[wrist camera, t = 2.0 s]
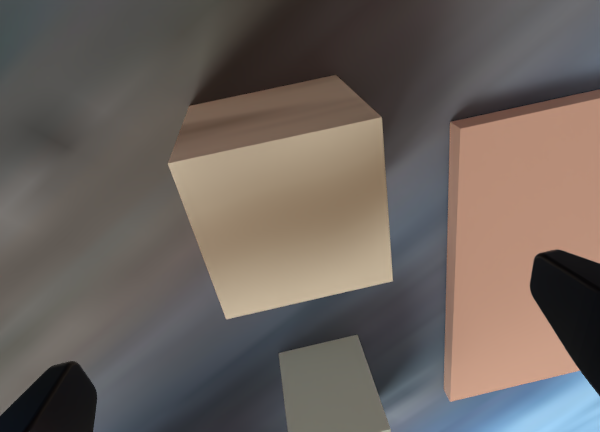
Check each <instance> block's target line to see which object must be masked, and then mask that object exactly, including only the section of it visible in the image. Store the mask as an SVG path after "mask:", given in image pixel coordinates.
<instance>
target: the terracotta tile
mask: <svg viewBox="0 0 600 432" xmlns="http://www.w3.org/2000/svg"><path fill="white" fill-rule="evenodd" d="M555 249H559V250H563V251H566V252H569V253H571V254H574V255H577V256H580V257H583V258H586V259H588V260H591V261H594V262H597V263H600V89H599V90H594V91H590V92H585V93H581V94H576V95H571V96H567V97H562V98H558V99H553V100H549V101H544V102H539V103H535V104H530V105H526V106H521V107H516V108H512V109H507V110H503V111H498V112H493V113H489V114H484V115H480V116H475V117H470V118H466V119H461V120H457V121H452V122H450V146H449V189H448V232H447V274H446V317H445V360H444V391H445V393H446V395H447V396H448V398H449V400H450V402H451V401H455V400H459V399H464V398H468V397H472V396H476V395H480V394H484V393H488V392H493V391H497V390H501V389H505V388H509V387H513V386H518V385H522V384H526V383H530V382H534V381H538V380H543V379H547V378H551V377H555V376H559V375H563V374H567V373H572V372H576V371H580V370H579V368H578V367H577V366H576V364H575V363H574V361H573V360H572V358H571V357H570V355H569V354H568V352H567V351H566V349H565V347H564V346H563V344H562V343H561V341H560V340H559V338H558V336H557V335H556V333H555V332H554V330H553V328H552V327H551V325H550V324H549V322H548V320H547V319H546V317H545V316H544V314H543V313H542V311H541V309H540V308H539V306H538V305H537V303H536V301H535V300H534V298H533V296H532V294H531V291H530V279H531V273H532V267H533V261H534V258H535V256H536V255H537V254H539V253H542V252H546V251H550V250H555Z"/></svg>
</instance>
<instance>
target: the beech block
mask: <svg viewBox="0 0 600 432" xmlns="http://www.w3.org/2000/svg"><path fill="white" fill-rule="evenodd" d="M168 165H169V168H170V170H171V173H172V176H173V178H174V181H175V184H176V186H177V189H178V192H179V194H180V197H181V200H182V202H183V205H184V208H185V210H186V213H187V216H188V218H189V221H190V224H191V226H192V229H193V232H194V235H195V237H196V240H197V243H198V245H199V248H200V251H201V253H202V256H203V259H204V261H205V264H206V267H207V269H208V272H209V275H210V277H211V280H212V283H213V285H214V288H215V291H216V293H217V296H218V299H219V301H220V304H221V307H222V309H223V312H224V315H225V317H226V319H230V318H235V317H239V316H243V315H248V314H252V313H256V312H261V311H265V310H269V309H274V308H278V307H283V306H287V305H291V304H296V303H300V302H304V301H309V300H313V299H318V298H322V297H326V296H331V295H335V294H339V293H344V292H348V291H352V290H357V289H361V288H366V287H370V286H374V285H379V284H383V283H387V282H392V281H393V276H392V261H391V246H390V231H389V217H388V202H387V187H386V172H385V157H384V143H383V128H382V117H381V116H380V115H379V114H378V113H377V112H376V111H374V110H373V109H372V108H371V107H370V106H369V105H368V104H367V103H366V102H365V101H364V100H363V99H362V98H360V97H359V96H358V95H357V94H356V93H355V92H354V91H353V90H352V89H351V88H350V87H349V86H347V85H346V84H345V83H344V82H343V81H342V80H341V79H340V78H339V77H338V76H337V75H333V76H329V77H324V78H319V79H314V80H310V81H305V82H300V83H296V84H291V85H286V86H281V87H277V88H272V89H267V90H262V91H258V92H253V93H248V94H244V95H239V96H234V97H229V98H225V99H220V100H215V101H211V102H206V103H201V104H196V105H192V106H189V108H188V110H187V113H186V116H185V119H184V121H183V124H182V127H181V129H180V132H179V135H178V137H177V140H176V143H175V146H174V148H173V151H172V154H171V156H170V159H169V162H168Z"/></svg>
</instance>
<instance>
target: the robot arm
mask: <svg viewBox="0 0 600 432" xmlns="http://www.w3.org/2000/svg"><path fill="white" fill-rule="evenodd" d="M530 291H531V294H532V296H533V298H534V300H535V301H536V303H537V305H538V306H539V308H540V309H541V311H542V313H543V314H544V316H545V317H546V319H547V320H548V322H549V324H550V325H551V327H552V328H553V330H554V332H555V333H556V335H557V336H558V338H559V340H560V341H561V343H562V344H563V346H564V347H565V349H566V351H567V352H568V354H569V355H570V357H571V358H572V360H573V361H574V363H575V364H576V366H577V367H578V368H579V370H580V371H581V372H582V374H583V375H584V376H585V378H586V379H587V380H588V382H589V383H590V384H591V385H592V387H593V388H594V389H595V391H596V392H597V393H598V394H599V396H600V263H597V262H594V261H591V260H588V259H586V258H583V257H580V256H577V255H574V254H571V253H569V252H566V251H563V250H559V249H555V250H550V251H546V252H542V253H539V254H537V255H536V256H535V258H534V261H533V267H532V273H531V279H530ZM96 404H97V393H96V389H95V387H94V385H93V384H92V382H91V381H90V379H89V378H88V376H87V375H86V373H85V372H84V371H83V369H82V368H81V366H80V365H79V364H78V363H77V362H74V361H70V362H66V363H61V364H57V365H54V366H51V367H50V368H49V369H48V370H46V371H45V372H44V373H43V374H42V375H41V376H40V377H39V378H38V379H37V380H36V381H35V382H34V383H33V384H32V385H31V386H30V387H29V388H28V389H27V390H26V391H25V392H24V393H23V394H22V395H21V396H20V397H19V398H18V399H17V400H16V401H15V402H14V403H13V404H12V405H11V406H10V407H9V408H8V409H7V410H6V411H5V412H4V413H3V414H2V415H1V416H0V432H93V428H94V420H95V412H96Z"/></svg>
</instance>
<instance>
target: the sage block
mask: <svg viewBox="0 0 600 432" xmlns="http://www.w3.org/2000/svg"><path fill="white" fill-rule="evenodd" d="M279 362H280V370H281V378H282V387H283V395H284V403H285V412H286V420H287V428H288V432H391V429H390V426H389V424H388V421H387V418H386V415H385V412H384V409H383V406H382V403H381V401H380V398H379V395H378V392H377V389H376V386H375V383H374V381H373V378H372V375H371V372H370V369H369V366H368V363H367V361H366V358H365V355H364V352H363V349H362V346H361V343H360V341H359V338H358V335H354V336H349V337H345V338H341V339H337V340H332V341H328V342H324V343H319V344H315V345H311V346H307V347H302V348H298V349H294V350H289V351H285V352H281V353H279Z"/></svg>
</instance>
